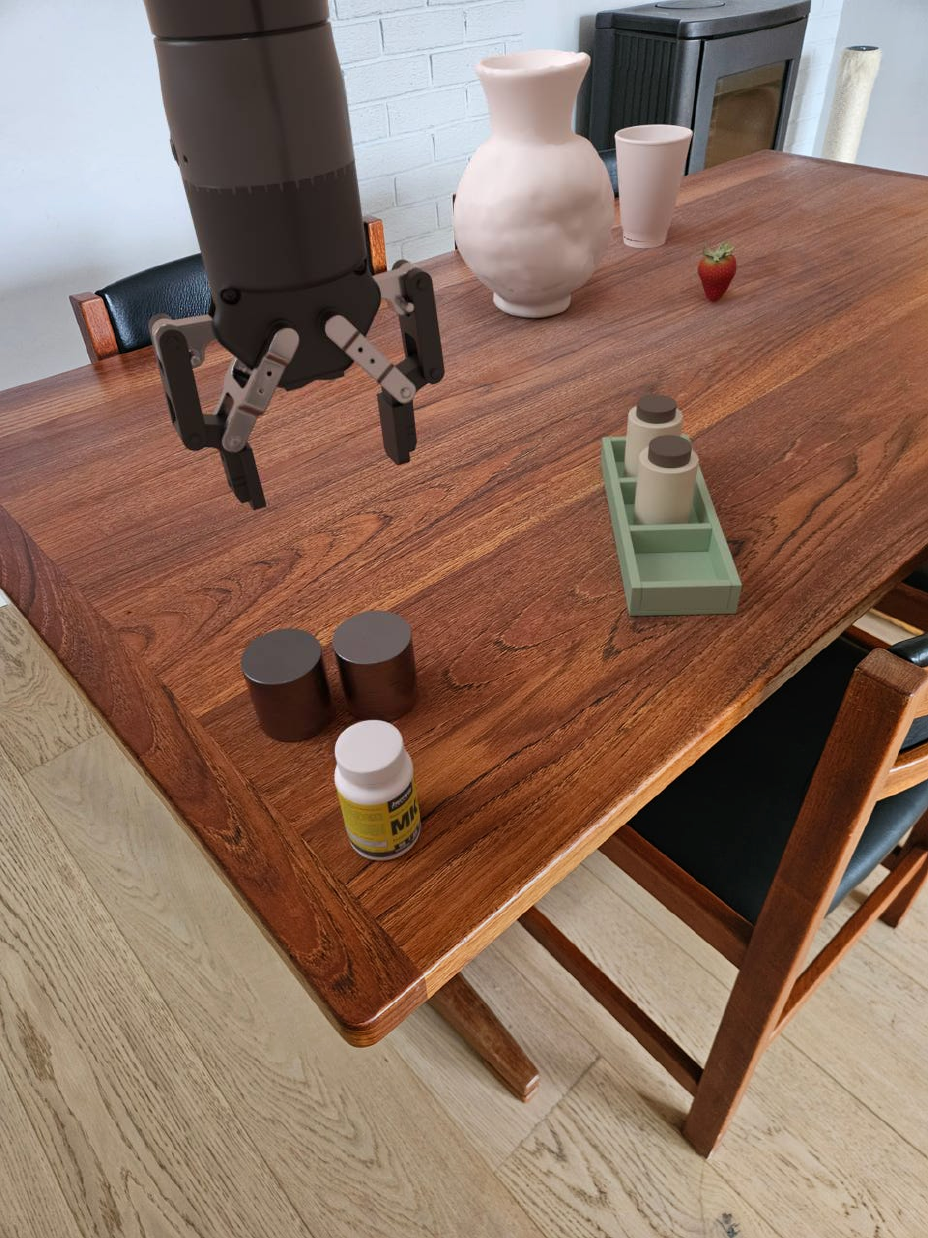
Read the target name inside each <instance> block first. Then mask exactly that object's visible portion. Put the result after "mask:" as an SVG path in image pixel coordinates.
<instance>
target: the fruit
mask: <svg viewBox="0 0 928 1238" xmlns="http://www.w3.org/2000/svg"><path fill="white" fill-rule="evenodd" d="M728 245H729V241H728V240H725V242H724V243H723V244H722V243H719V246H718V247H717V249H716V250H715V251H712V250H711V249H710V248H709V247H708V246H707V243H705V245H704V246H705V247H703V249H702V256H704V257H703V258H702V259H701V260H700V262H699V263H698V266H697V274H698V277H699V280H700V282H701V285H702V290H703V292H704V294H705V296H706V299H707V300H708V301H709V302H713V303H716V302H718V301H720V300H722V298H723V296H724V295H725V294H726V293H727V290H728V289H729V287H730V285H731V283H732V280H733V279H734V278H735V275H736V273H737V268H738V267H737V265H738V264H737V260H736V257H735V255H733V252H734V251H733V250H734V249H735V248H736V247H735V246H736V245H733V246H732V247H729V248H728ZM705 250H706V251H707V252H705Z"/></svg>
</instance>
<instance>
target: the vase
mask: <svg viewBox="0 0 928 1238" xmlns="http://www.w3.org/2000/svg"><path fill="white" fill-rule="evenodd" d="M590 65H591V56H590V55H589V54H588V53H586V52H584V51H580V52H575V51H562V50H559V49H549V48H541V49H533V50H524V51H519V52H509V53H506V54H499V55H493V56H489V57H488V56H487V57H484V58H481V59H480V60H479V61H478V62H477V63H476V64H475V72H476V73H475V74H476V75H477V77H478V79H479V82H480V85H481V87H482V89H483V92H484V95H485V99H486V102H487V110H488V115H489V123H490V127H491V128H490V129H491V135H490V137H489V138H488V139H486V140H485V141H484V142H483V143H481V145H479V147H478V148H476V150H475V151H474V152H473V154H472V155H471V159H470V160H469V161H468V164H467V165H466V167H465V169H464V171H463V173H462V176H461V178H460V180H459V183H458V185H457V190H456V194H455V199H454V202H453V211H452V212H453V215H452V228H453V233H454V234H453V235H454V236H453V237H454V240H455V244H456V247H457V251H458V252H459V254H460V255H461V258H462V260H463V261H464V263H465V266H467V268H469V270H470V271H471V273H472V274H473V275H474V276H476V278H477V280H478V281H480V282H481V284H482V285H484V286H485V287H486V288H487V289H488V290H489V291H491V292H493V296H492V297H493V299H492V302H493V304H494V305H495V307H496V308H498V309H499V310H500V311H502V312H504V313H506V314H508V315H510V316H514V317H520V318H529V319H540V318H547V317H551V316H555V315H558V314H560V313H564V312H565V311H566V310H567V309H568V308H569V307H570V304H571V300H572V293H574V292H575V291H576V290H579V289H581V288H582V287H583V286H584V285H585V284H586V283H587V282H588V281H589V280H590V279H591V278H592V276H593V275H594V274H595V272H596V270H597V268H598V266H599V264H600V263H601V261H602V260H603V258H604V257H605V253H606V250H607V248H608V245H609V242H610V240H611V238H612V232H613V225H614V221H615V193H614V189H613V185H612V182H611V178H610V174H609V170H608V169H607V166H606V164H605V162H604V161H603V159H602V158H601V157H600V155H599V153H598V151H597V150H596V148H595V146H594V145H593V143H592V142H591V141H590V140H588V139H587V138H586V137H584V136H582V135H579V134H577V133H576V132H575V131H574V130H573V128H572V121H573V113H574V107H575V104H576V100H577V97H578V94H579V91H580V88H581V85H582V83H583V81H584V78H585V77H586V74H587V72H588V70H589V68H590Z"/></svg>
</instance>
